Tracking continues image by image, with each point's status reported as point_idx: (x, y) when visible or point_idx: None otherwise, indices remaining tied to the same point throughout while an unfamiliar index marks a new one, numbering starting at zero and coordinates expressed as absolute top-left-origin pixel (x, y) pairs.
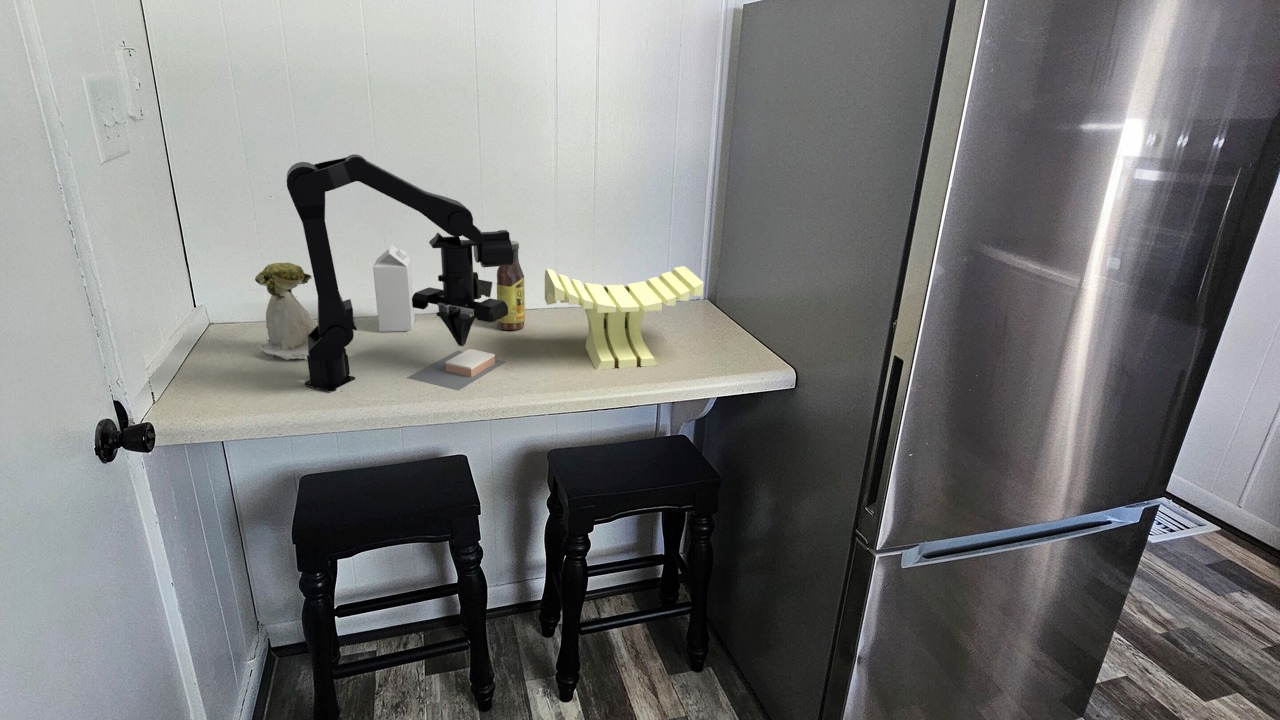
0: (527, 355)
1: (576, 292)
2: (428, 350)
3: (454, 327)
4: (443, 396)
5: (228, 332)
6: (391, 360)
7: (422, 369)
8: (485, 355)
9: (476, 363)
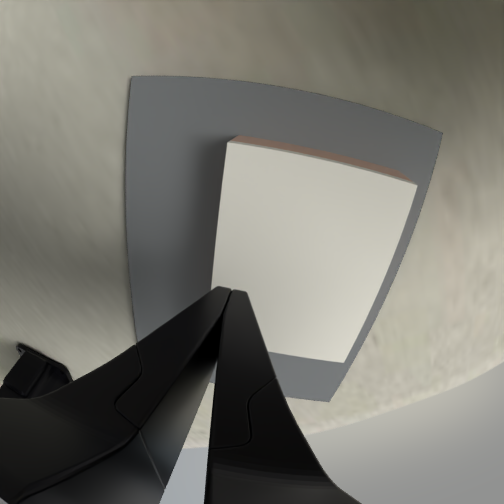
0: (481, 23)
1: None
2: (37, 124)
3: (176, 455)
4: (297, 414)
5: None
6: (22, 251)
7: (134, 311)
8: (371, 218)
9: (354, 325)
